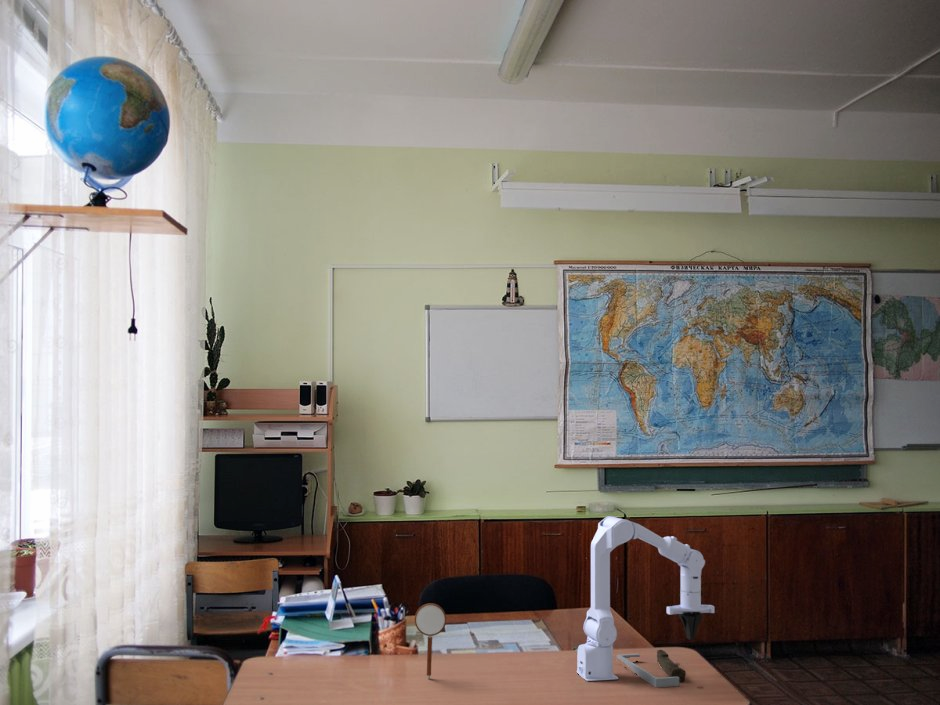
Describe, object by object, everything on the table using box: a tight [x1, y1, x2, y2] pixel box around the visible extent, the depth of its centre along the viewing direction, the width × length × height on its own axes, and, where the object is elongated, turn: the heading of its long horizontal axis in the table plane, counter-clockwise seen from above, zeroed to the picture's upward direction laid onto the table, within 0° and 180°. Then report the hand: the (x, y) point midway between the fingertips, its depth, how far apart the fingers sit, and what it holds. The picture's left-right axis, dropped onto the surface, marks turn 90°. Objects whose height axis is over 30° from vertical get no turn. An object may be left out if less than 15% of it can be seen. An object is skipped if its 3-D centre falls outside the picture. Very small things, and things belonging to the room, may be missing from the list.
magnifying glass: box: [414, 602, 447, 680], centre depth 225 cm, size 9×2×20 cm, turn 89°
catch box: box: [616, 653, 680, 688], centre depth 234 cm, size 7×24×2 cm, turn 15°
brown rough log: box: [656, 649, 687, 683], centre depth 236 cm, size 19×4×5 cm, turn 2°
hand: (690, 639), depth 238 cm, fingers closed
